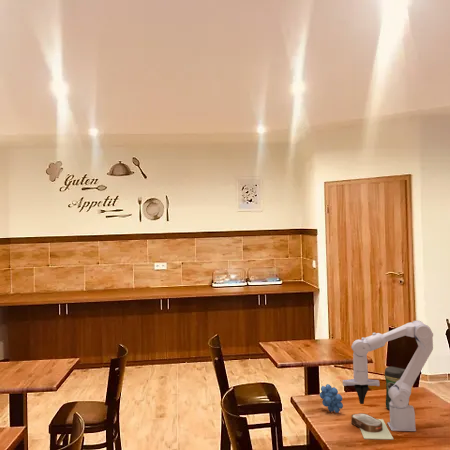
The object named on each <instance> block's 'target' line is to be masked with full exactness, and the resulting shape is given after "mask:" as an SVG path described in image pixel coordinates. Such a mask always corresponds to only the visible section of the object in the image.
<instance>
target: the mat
mask: <svg viewBox="0 0 450 450" xmlns="http://www.w3.org/2000/svg"><path fill="white" fill-rule="evenodd" d="M377 419H378V420H379V421H381V422H382V428H383V430H382V431H380V432H367V431H364V430H363V429H361V428H359V430H360V432H361V435H362V437H363V440H390V441H391V440H394V437H393V436H392V434H391V430H390V429H389V427H388V425H387V424H386V423H385V420H384V418H381V419H380V418H377ZM394 441H395V440H394Z"/></svg>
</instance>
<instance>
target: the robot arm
mask: <svg viewBox="0 0 450 450" xmlns="http://www.w3.org/2000/svg"><path fill="white" fill-rule="evenodd" d="M371 334H372V335H369V336H366V337H361V339H355V340H354V341H353V342H352V344H351V350H352V351H353V354H352V356H353V358H352V364H353V367H352V369H353V378H352V379H342V386H343V387H346V386H354V389H355V392H356V393H357V396H358V397H357V398H358V401H359V404H360V405H364V403H365V399H366V396H367V393H368V391H369V386H371V387H372V386H374V387H375V386H376V387H380V380H379V379H369V371H368V370H369V369H368V364H369V363H368V354H369V352H373V351H376V350H377V349H379V348H383V347H385V346H386V343H388V342H389V341H390V342H391V341H393V340H396V339H398V338H402V337H405V336H406V337H410V338H415V341H416V343H417V348H416V350H415V352H414V354H413V355H412V357H411V359H410V361H409V363H408V364H407V366H406V368H404V369H405V371H404V373H403V375H402V376H401V378H400V380H398V381H397V382H396V383H395V384H394V385H393V386H392V387H391V388H390V389H389V391H388V395H389V397H390V398H391V401H390V403H389V407H390V410H389V421H388V422H387V426H388V428H389V430H390V431H392V432H393V431H394V432H417V429H416V413H415V407H414V406H413V405H410V404H409V405H408V403H410V396H411V395H412V387H413V386H414V384H415V382H416V380H417V378H418V377H419V375H420V373H421V371H422V369H423V368H424V366H425V364H426V363H427V361H428V359H429V357H430V356H431V354H432V352H433V349H434V342H433V341H434V340H433V337H434V333H433V331H432V329H431V327H430V326H429V325H427V324H426V323H424V322H423V321H422V320H419V319H417V320H413V321H412V322H407V323H405V324H403V325H401V326H398V327H396V328H393V329H392V330H389V331H387V332H384V333H380V332H377V333H376V332H375V331H374V332H372V333H371Z"/></svg>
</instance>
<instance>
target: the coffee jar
mask: <svg viewBox="0 0 450 450" xmlns="http://www.w3.org/2000/svg"><path fill="white" fill-rule="evenodd" d="M405 369H406V368H401V367H397V366H387V367H385V369H384V379H385V386H386V388H385V389H386V390H385V394H386V395H385V409H387V410H389V411H390V407H389V403H390V401H391V398H390V397H389V395H388V391H389V389H390V388H391V387H392V386H393V385H394V384H395V383H396V382H397V381H398V380H400V378H401V376H402V375H403V373H404V371H405ZM409 403H410V402H409ZM409 403H408V405H410V404H409Z"/></svg>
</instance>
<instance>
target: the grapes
mask: <svg viewBox="0 0 450 450" xmlns="http://www.w3.org/2000/svg"><path fill="white" fill-rule="evenodd" d="M320 390H321V392H320V393H319V397H320V398H321V400H322V405H323V406H324V407H327V410H328V411H329V412H330V413H333V412H335V413H336V414H338V413H340V410H341V409H343V408H344V405H343V404H344V403H343V402H342V401H343V397H342V395H341V394H339V390H338V389H337V387H335V386H334V387H332V385H331V384H328V383H327V384H326V385H325V386H324V385H322V386H321V387H320Z"/></svg>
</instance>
